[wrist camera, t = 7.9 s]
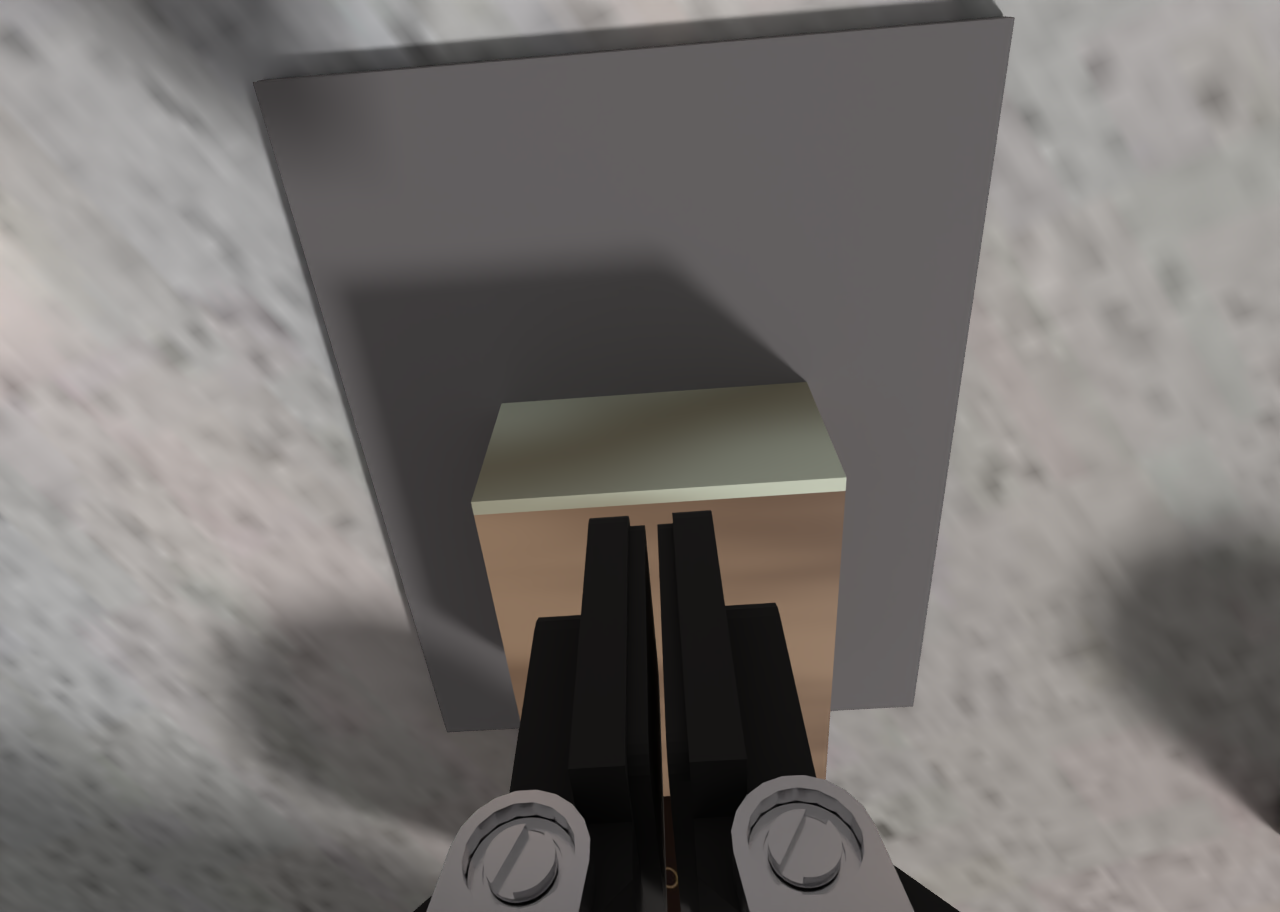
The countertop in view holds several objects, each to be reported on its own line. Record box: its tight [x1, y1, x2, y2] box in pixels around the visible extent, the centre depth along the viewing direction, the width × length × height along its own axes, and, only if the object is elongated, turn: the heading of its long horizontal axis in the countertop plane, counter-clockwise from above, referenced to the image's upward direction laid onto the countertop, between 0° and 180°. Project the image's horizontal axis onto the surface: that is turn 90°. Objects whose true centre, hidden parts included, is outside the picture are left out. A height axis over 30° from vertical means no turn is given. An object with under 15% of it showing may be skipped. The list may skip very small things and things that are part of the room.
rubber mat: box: [253, 17, 1014, 732], centre depth 19 cm, size 18×14×1 cm
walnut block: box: [471, 382, 847, 796], centre depth 19 cm, size 4×7×9 cm
